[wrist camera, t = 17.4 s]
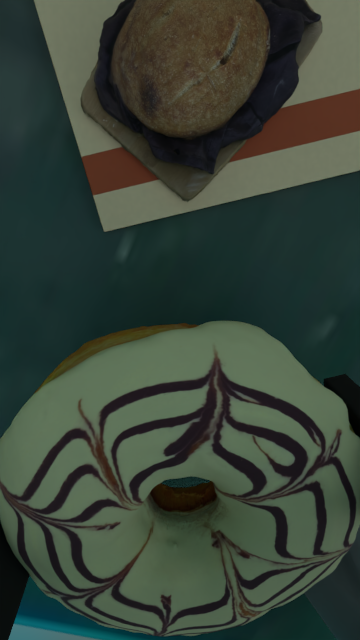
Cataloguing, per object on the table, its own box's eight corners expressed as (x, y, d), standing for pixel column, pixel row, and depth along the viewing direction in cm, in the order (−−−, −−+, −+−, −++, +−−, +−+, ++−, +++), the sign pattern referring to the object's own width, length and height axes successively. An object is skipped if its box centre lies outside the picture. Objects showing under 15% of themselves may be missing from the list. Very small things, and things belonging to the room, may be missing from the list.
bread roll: (191, 211, 19) (200, 216, 16) (66, 96, 17) (43, 71, 13) (333, 41, 16) (380, 2, 13) (209, -125, 14) (227, -226, 11)
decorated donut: (235, 236, 10) (283, 259, 6) (361, 469, 13) (438, 569, 10) (-39, 410, 11) (-131, 512, 7) (144, 580, 14) (141, 703, 11)
